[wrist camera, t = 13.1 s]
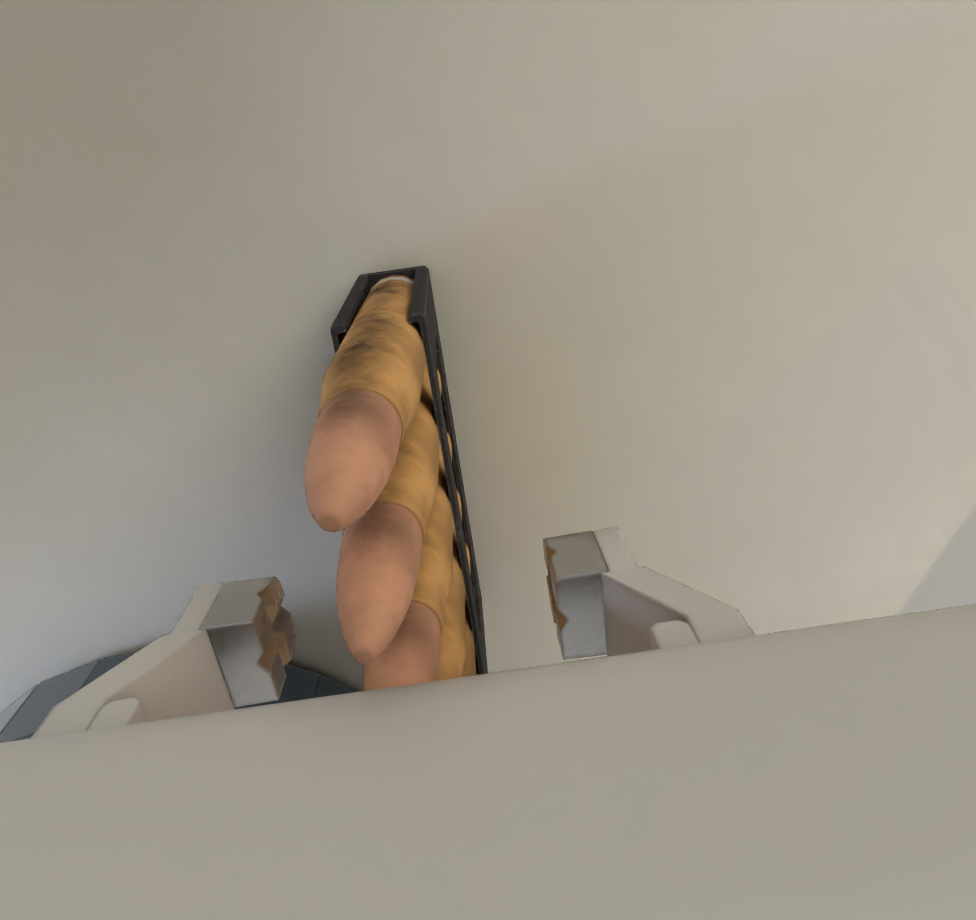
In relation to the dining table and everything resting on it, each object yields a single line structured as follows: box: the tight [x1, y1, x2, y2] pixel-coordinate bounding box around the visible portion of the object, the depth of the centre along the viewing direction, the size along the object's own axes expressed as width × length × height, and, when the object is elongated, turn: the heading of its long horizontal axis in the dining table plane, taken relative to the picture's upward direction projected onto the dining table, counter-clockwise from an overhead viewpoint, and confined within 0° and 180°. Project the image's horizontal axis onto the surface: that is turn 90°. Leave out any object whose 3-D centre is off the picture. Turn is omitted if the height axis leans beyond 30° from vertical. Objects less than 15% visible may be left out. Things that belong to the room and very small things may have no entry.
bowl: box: [0, 653, 355, 743], centre depth 23 cm, size 18×18×6 cm
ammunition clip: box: [305, 266, 488, 691], centre depth 15 cm, size 11×2×12 cm, turn 7°
